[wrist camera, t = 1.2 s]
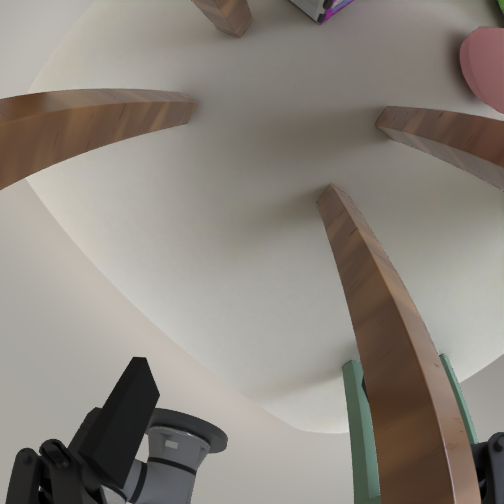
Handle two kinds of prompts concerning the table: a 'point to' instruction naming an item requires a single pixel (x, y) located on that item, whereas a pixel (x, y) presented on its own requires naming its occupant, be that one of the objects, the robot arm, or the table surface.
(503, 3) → the turtle holder
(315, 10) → the candy bar box
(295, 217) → the table surface
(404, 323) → the high stand
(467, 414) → the low stool
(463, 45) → the pink vase
